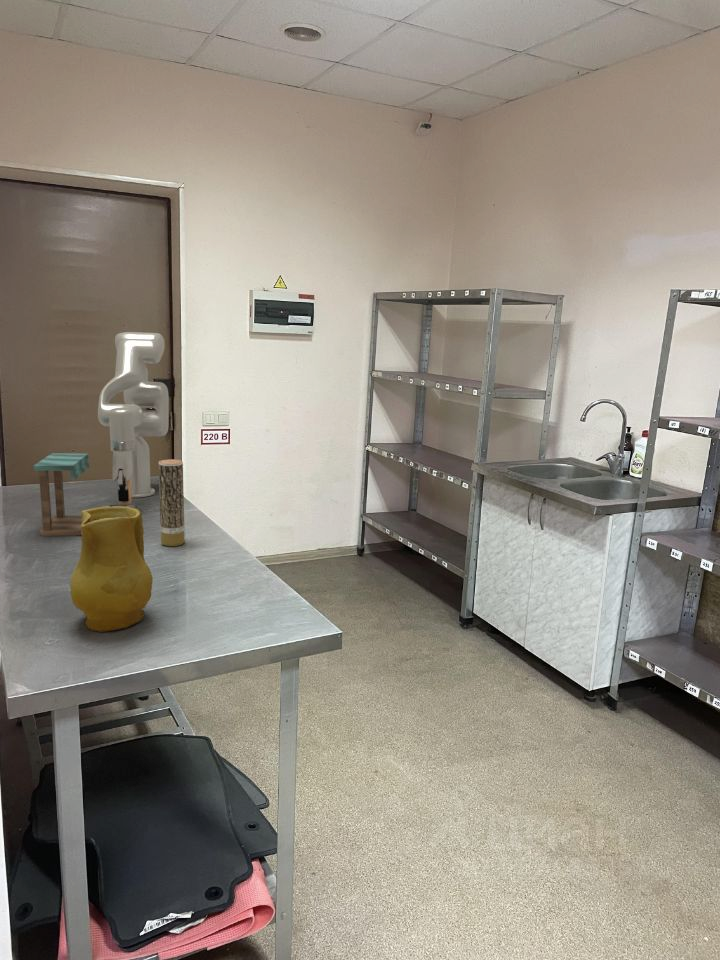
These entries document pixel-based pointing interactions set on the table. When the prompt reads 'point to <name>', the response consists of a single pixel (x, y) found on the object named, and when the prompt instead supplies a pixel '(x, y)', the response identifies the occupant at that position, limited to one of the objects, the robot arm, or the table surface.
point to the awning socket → (61, 493)
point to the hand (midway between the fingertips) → (125, 498)
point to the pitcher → (111, 569)
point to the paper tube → (171, 502)
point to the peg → (129, 493)
